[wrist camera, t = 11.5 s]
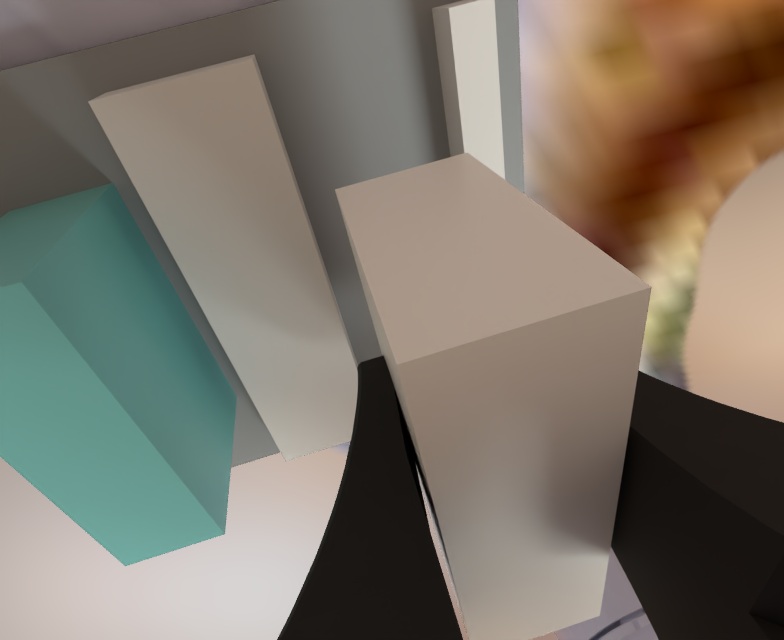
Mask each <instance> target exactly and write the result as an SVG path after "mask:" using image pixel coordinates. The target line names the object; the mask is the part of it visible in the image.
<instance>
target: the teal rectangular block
mask: <svg viewBox="0 0 784 640" xmlns="http://www.w3.org/2000/svg"><path fill="white" fill-rule="evenodd" d="M236 404H237V396H236V394H235V392H234V391H233V389H232V387H231V385H230V384H229V382H228V380H227V379H226V377H225V375H224V373H223V372H222V370H221V368H220V367H219V365H218V363H217V361H216V360H215V358H214V356H213V354H212V353H211V351H210V349H209V348H208V346H207V344H206V342H205V341H204V339H203V337H202V336H201V334H200V332H199V330H198V329H197V327H196V325H195V323H194V322H193V320H192V318H191V317H190V315H189V313H188V311H187V310H186V308H185V306H184V305H183V303H182V301H181V299H180V298H179V296H178V294H177V292H176V291H175V289H174V287H173V286H172V284H171V282H170V280H169V279H168V277H167V275H166V274H165V272H164V270H163V268H162V267H161V265H160V263H159V261H158V260H157V258H156V256H155V255H154V253H153V251H152V249H151V248H150V246H149V244H148V243H147V241H146V239H145V237H144V236H143V234H142V232H141V230H140V229H139V227H138V225H137V224H136V222H135V220H134V218H133V217H132V215H131V213H130V212H129V210H128V208H127V206H126V205H125V203H124V201H123V199H122V198H121V196H120V194H119V193H118V191H117V189H116V187H115V186H114V184H113V183H110V184H106V185H103V186H99V187H95V188H92V189H88V190H85V191H81V192H77V193H74V194H70V195H66V196H63V197H59V198H55V199H52V200H48V201H45V202H41V203H37V204H34V205H30V206H26V207H23V208H19V209H15V210H12V211H9V212H7V213H6V214H5V215H3V216H2V217H1V218H0V457H2V458H3V459H4V460H5V461H6V462H7V463H8V464H9V465H11V466H12V467H13V468H14V469H15V470H16V471H17V472H18V473H20V474H21V475H22V476H23V477H24V478H25V479H26V480H28V481H29V482H30V483H31V484H32V485H33V486H34V487H36V488H37V489H38V490H39V491H40V492H41V493H42V494H44V495H45V496H46V497H47V498H48V499H49V500H51V501H52V502H53V503H54V504H55V505H56V506H57V507H59V508H60V509H61V510H62V511H63V512H64V513H65V514H66V515H68V516H69V517H70V518H71V519H72V520H73V521H74V522H76V523H77V524H78V525H79V526H80V527H81V528H83V529H84V530H85V531H86V532H87V533H88V534H90V536H92V537H93V538H94V539H95V540H96V541H98V543H100V544H101V545H102V546H103V547H104V548H106V550H108V551H109V552H110V553H111V554H112V555H113V556H115V557H116V558H117V559H118V560H119V561H120V562H121V563H122V564H123V565H125V566H127V565H130V564H134V563H137V562H140V561H143V560H145V559H149V558H152V557H155V556H158V555H161V554H165V553H167V552H171V551H174V550H177V549H180V548H183V547H186V546H189V545H192V544H196V543H199V542H201V541H205V540H208V539H211V538H214V537H217V536H220V535H224V534H225V526H226V515H227V503H228V493H229V481H230V470H231V460H232V448H233V437H234V426H235V415H236Z"/></svg>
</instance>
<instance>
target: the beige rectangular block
mask: <svg viewBox="0 0 784 640" xmlns="http://www.w3.org/2000/svg"><path fill="white" fill-rule="evenodd" d="M335 192H336V195H337V199H338V202H339V206H340V209H341V213H342V216H343V220H344V223H345V227H346V230H347V234H348V237H349V241H350V244H351V248H352V251H353V255H354V258H355V262H356V265H357V269H358V272H359V276H360V279H361V283H362V286H363V290H364V293H365V297H366V300H367V304H368V307H369V311H370V314H371V318H372V321H373V325H374V328H375V332H376V335H377V339H378V342H379V346H380V349H381V353H382V356H383V355H384V358H385V360H386V363H387V366H388V369H389V372H390V375H391V378H392V381H393V384H394V388H395V391H396V395H397V398H398V402H399V405H400V409H401V413H402V416H403V420H404V423H405V427H406V430H407V434H408V438H409V441H410V445H411V448H412V452H413V455H414V459H415V463H416V467H417V472H418V476H419V481H420V486H421V489H422V492H423V495H424V499H425V502H426V505H427V508H428V511H429V515H430V518H431V521H432V524H433V527H434V531H435V534H436V537H437V540H438V543H439V546H440V550H441V553H442V556H443V559H444V563H445V566H446V569H447V572H448V575H449V578H450V581H451V585H452V588H453V591H454V594H455V598H456V601H457V604H458V607H459V610H460V613H461V617H462V620H463V623H464V626H465V630H466V633H467V636H468V639H469V640H531V639H534V638H537V637H540V636H543V635H546V634H548V633H551V632H554V631H557V630H560V629H563V628H566V627H569V626H571V625H574V624H577V623H580V622H583V621H586V620H589V619H592V618H595V617H597V616H600V611H601V605H602V599H603V592H604V586H605V580H606V573H607V567H608V561H609V554H610V548H611V541H612V535H613V529H614V522H615V516H616V510H617V503H618V497H619V491H620V484H621V478H622V471H623V465H624V459H625V452H626V446H627V440H628V433H629V427H630V421H631V414H632V408H633V401H634V395H635V389H636V382H637V376H638V370H639V363H640V357H641V351H642V344H643V338H644V331H645V325H646V319H647V312H648V306H649V300H650V293H651V286H649V285H648V284H647V283H645V282H644V281H643V280H641V279H640V278H638V277H637V276H636V275H634V274H633V273H632V272H630V271H629V270H628V269H626V268H625V267H623V266H622V265H621V264H619V263H618V262H617V261H615V260H614V259H613V258H611V257H610V256H608V255H607V254H606V253H604V252H603V251H602V250H600V249H599V248H597V247H596V246H595V245H593V244H592V243H591V242H589V241H588V240H587V239H585V238H584V237H582V236H581V235H580V234H578V233H577V232H576V231H574V230H573V229H571V228H570V227H569V226H567V225H566V224H565V223H563V222H562V221H561V220H559V219H558V218H556V217H555V216H554V215H552V214H551V213H550V212H548V211H547V210H546V209H544V208H543V207H541V206H540V205H539V204H537V203H536V202H535V201H533V200H532V199H530V198H529V197H528V196H526V195H525V194H524V193H522V192H521V191H520V190H518V189H517V188H515V187H514V186H513V185H511V184H510V183H509V182H507V181H506V180H505V179H503V178H502V177H500V176H499V175H498V174H496V173H495V172H494V171H492V170H491V169H489V168H488V167H487V166H485V165H484V164H483V163H481V162H480V161H479V160H477V159H476V158H474V157H473V156H472V155H470V154H469V153H468V152H467V153H463V154H460V155H456V156H453V157H449V158H446V159H442V160H438V161H435V162H431V163H428V164H424V165H420V166H417V167H413V168H410V169H406V170H403V171H399V172H395V173H392V174H388V175H385V176H381V177H378V178H374V179H370V180H367V181H363V182H360V183H356V184H352V185H349V186H345V187H342V188H338V189H335Z"/></svg>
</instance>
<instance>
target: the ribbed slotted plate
mask: <svg viewBox="0 0 784 640" xmlns="http://www.w3.org/2000/svg"><path fill="white" fill-rule="evenodd" d="M467 152H468V153H469V154H470V155H472V156H473V157H474V158H476V159H477V160H479V161H480V162H481V163H483V164H484V165H485V166H487V167H488V168H489V169H491V170H492V171H494V172H495V173H496V174H498V175H499V176H500V177H502V178H503V179H505V180H506V181H507V182H509V183H510V184H511V185H513V186H514V187H515V188H517V189H518V190H520V191H521V192H522V193H524V167H523V137H522V108H521V78H520V48H519V19H518V0H278V1H274V2H270V3H266V4H263V5H259V6H255V7H251V8H247V9H243V10H239V11H235V12H231V13H227V14H223V15H219V16H215V17H211V18H207V19H203V20H199V21H195V22H191V23H187V24H183V25H179V26H175V27H171V28H168V29H164V30H160V31H156V32H152V33H148V34H144V35H140V36H136V37H132V38H128V39H124V40H120V41H116V42H112V43H108V44H104V45H100V46H96V47H92V48H88V49H84V50H80V51H76V52H72V53H69V54H65V55H61V56H57V57H53V58H49V59H45V60H41V61H37V62H33V63H29V64H25V65H21V66H17V67H13V68H9V69H5V70H1V71H0V218H1V217H2V216H3V215H5V214H6V213H7V212H9V211H12V210H15V209H19V208H23V207H26V206H30V205H34V204H37V203H41V202H45V201H48V200H52V199H55V198H59V197H63V196H66V195H70V194H74V193H77V192H81V191H85V190H88V189H92V188H95V187H99V186H103V185H106V184H110V183H113V184H114V186H115V187H116V189H117V191H118V193H119V194H120V196H121V198H122V199H123V201H124V203H125V205H126V206H127V208H128V210H129V212H130V213H131V215H132V217H133V218H134V220H135V222H136V224H137V225H138V227H139V229H140V230H141V232H142V234H143V236H144V237H145V239H146V241H147V243H148V244H149V246H150V248H151V249H152V251H153V253H154V255H155V256H156V258H157V260H158V261H159V263H160V265H161V267H162V268H163V270H164V272H165V274H166V275H167V277H168V279H169V280H170V282H171V284H172V286H173V287H174V289H175V291H176V292H177V294H178V296H179V298H180V299H181V301H182V303H183V305H184V306H185V308H186V310H187V311H188V313H189V315H190V317H191V318H192V320H193V322H194V323H195V325H196V327H197V329H198V330H199V332H200V334H201V336H202V337H203V339H204V341H205V342H206V344H207V346H208V348H209V349H210V351H211V353H212V354H213V356H214V358H215V360H216V361H217V363H218V365H219V367H220V368H221V370H222V372H223V373H224V375H225V377H226V379H227V380H228V382H229V384H230V385H231V387H232V389H233V391H234V392H235V394H236V396H237V404H236V415H235V426H234V437H233V448H232V460H231V467H234V466H238V465H241V464H244V463H247V462H250V461H254V460H256V459H260V458H263V457H267V456H269V455H273V454H276V453H279V452H281V454H282V456H283V457H284V459H285V461H289V460H292V459H295V458H298V457H301V456H305V455H308V454H311V453H314V452H317V451H321V450H324V449H327V448H330V447H333V446H337V445H340V444H343V443H346V442H349V441H351V437H352V432H353V425H354V418H355V412H356V404H357V392H358V371H357V367H358V365H359V364H360V362H363V361H367V360H370V359H373V358H376V357H380V356H382V353H381V349H380V346H379V342H378V339H377V335H376V332H375V328H374V325H373V321H372V318H371V314H370V311H369V307H368V304H367V300H366V297H365V293H364V290H363V286H362V283H361V279H360V276H359V272H358V269H357V265H356V262H355V258H354V255H353V251H352V248H351V244H350V241H349V237H348V234H347V230H346V227H345V223H344V220H343V216H342V213H341V209H340V206H339V202H338V199H337V195H336V192H335V189H338V188H342V187H345V186H349V185H352V184H356V183H360V182H363V181H367V180H370V179H374V178H378V177H381V176H385V175H388V174H392V173H395V172H399V171H403V170H406V169H410V168H413V167H417V166H420V165H424V164H428V163H431V162H435V161H438V160H442V159H446V158H449V157H453V156H456V155H460V154H463V153H467Z"/></svg>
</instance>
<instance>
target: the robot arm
mask: <svg viewBox="0 0 784 640" xmlns="http://www.w3.org/2000/svg"><path fill="white" fill-rule="evenodd" d="M357 371H358V392H357V404H356V412H355V418H354V425H353V432H352V437H351V442H350V447H349V451H348V456H347V460H346V465H345V469H344V473H343V477H342V481H341V484H340V488H339V491H338V494H337V498H336V501H335V504H334V507H333V510H332V513H331V516H330V519H329V522H328V525H327V527H326V530H325V533H324V536H323V539H322V541H321V544H320V547H319V549H318V552H317V554H316V557H315V559H314V562H313V564H312V566H311V568H310V571H309V573H308V575H307V577H306V580H305V582H304V584H303V587H302V589H301V591H300V594H299V596H298V598H297V600H296V603H295V605H294V607H293V609H292V611H291V613H290V616H289V617H288V619H287V622H286V624H285V626H284V627H283V629H282V631H281V633H280V635H279V637H278V639H277V640H463V638H462V634H461V631H460V628H459V625H458V621H457V618H456V615H455V612H454V608H453V605H452V602H451V599H450V595H449V592H448V589H447V586H446V583H445V579H444V576H443V573H442V569H441V566H440V563H439V560H438V557H437V553H436V550H435V547H434V543H433V540H432V537H431V533H430V528H429V524H428V519H427V514H426V509H425V505H424V500H423V496H422V491H421V486H420V481H419V476H418V472H417V467H416V463H415V459H414V455H413V452H412V448H411V445H410V441H409V438H408V434H407V430H406V427H405V423H404V420H403V416H402V413H401V409H400V405H399V402H398V398H397V395H396V391H395V388H394V384H393V381H392V378H391V375H390V372H389V369H388V366H387V363H386V360H385V358H384V355H383V356H380V357H376V358H373V359H370V360H367V361H363V362H360V364H359V365H358V367H357ZM554 634H555V635H556V637H557V639H558V640H784V423H783V422H779V421H776V420H772V419H768V418H765V417H762V416H758V415H755V414H752V413H749V412H746V411H743V410H739V409H737V408H733V407H730V406H727V405H724V404H721V403H718V402H715V401H713V400H709V399H707V398H704V397H701V396H699V395H696V394H693V393H691V392H688V391H686V390H683V389H681V388H678V387H675V386H673V385H670V384H668V383H665V382H663V381H661V380H658V379H656V378H654V377H651V376H649V375H647V374H645V373H643V372H640V371H638V376H637V382H636V389H635V395H634V401H633V408H632V414H631V421H630V427H629V433H628V440H627V446H626V452H625V459H624V465H623V471H622V478H621V484H620V491H619V497H618V503H617V510H616V516H615V522H614V529H613V535H612V541H611V548H610V554H609V561H608V567H607V573H606V580H605V586H604V592H603V599H602V605H601V611H600V616H597V617H595V618H592V619H589V620H586V621H583V622H580V623H577V624H574V625H571V626H569V627H566V628H563V629H560V630H557V631H554Z"/></svg>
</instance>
